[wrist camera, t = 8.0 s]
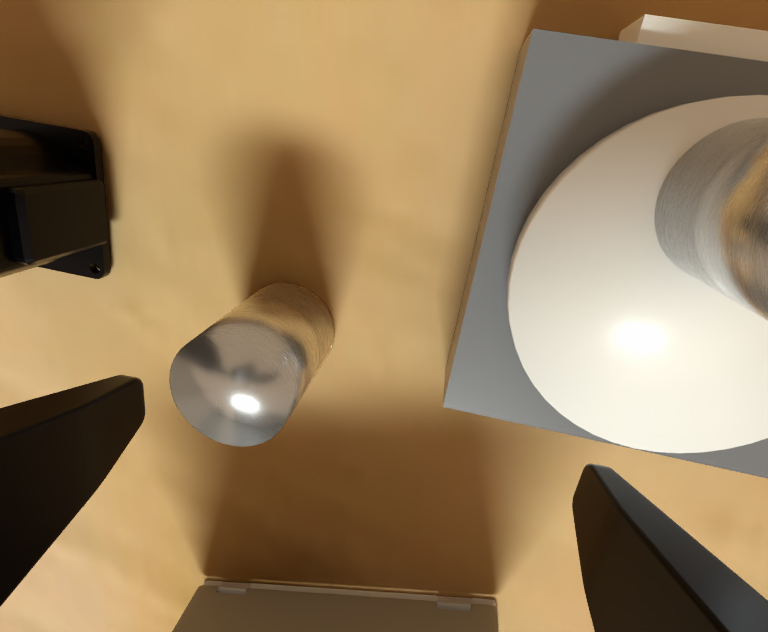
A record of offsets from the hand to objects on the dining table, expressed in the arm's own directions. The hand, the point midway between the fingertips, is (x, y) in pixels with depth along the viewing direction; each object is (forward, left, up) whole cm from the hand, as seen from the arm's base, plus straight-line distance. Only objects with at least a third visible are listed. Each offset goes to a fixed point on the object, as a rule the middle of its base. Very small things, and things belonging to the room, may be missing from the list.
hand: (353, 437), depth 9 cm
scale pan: (+9, +3, -8) cm, 12 cm away
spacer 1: (-5, -4, -11) cm, 13 cm away
